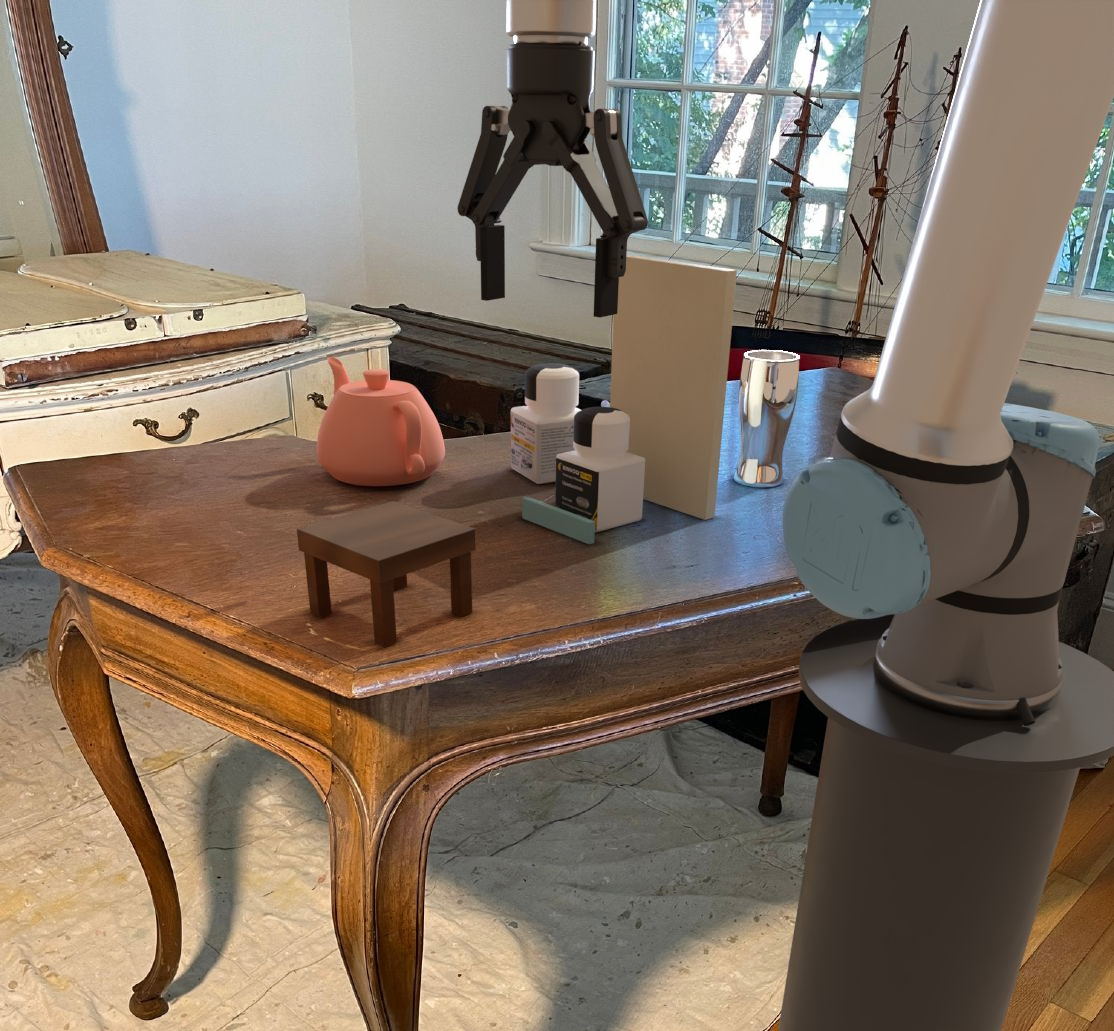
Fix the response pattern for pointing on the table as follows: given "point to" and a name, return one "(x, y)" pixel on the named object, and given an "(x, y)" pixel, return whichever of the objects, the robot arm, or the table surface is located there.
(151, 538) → the table surface
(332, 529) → the stool
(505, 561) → the table surface
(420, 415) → the teapot
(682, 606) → the table surface
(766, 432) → the beer glass
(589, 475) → the medicine bottle
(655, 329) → the beige and grey slabs
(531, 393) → the container
